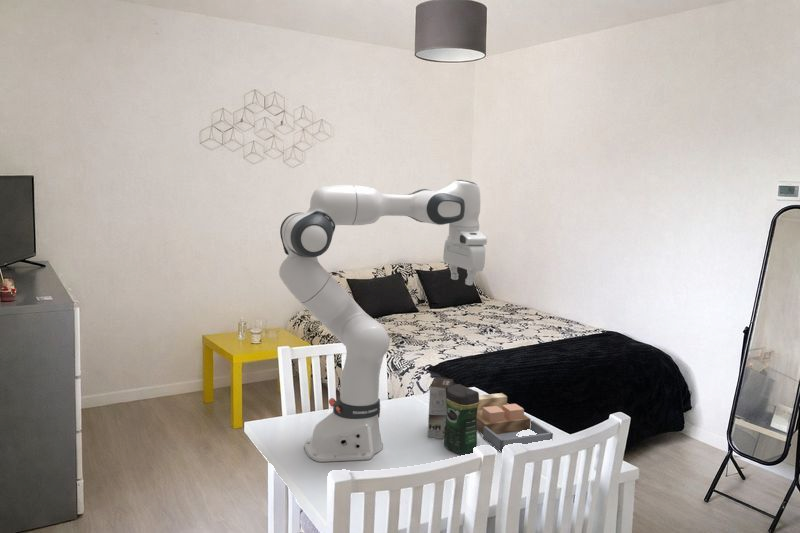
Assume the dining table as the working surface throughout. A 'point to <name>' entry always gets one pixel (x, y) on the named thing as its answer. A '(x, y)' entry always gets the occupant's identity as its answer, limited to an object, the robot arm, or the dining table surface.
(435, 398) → the coffee box
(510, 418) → the tile
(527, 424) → the board
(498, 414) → the tile
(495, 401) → the beige wooden block
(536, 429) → the tray
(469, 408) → the coffee jar
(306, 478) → the dining table surface
